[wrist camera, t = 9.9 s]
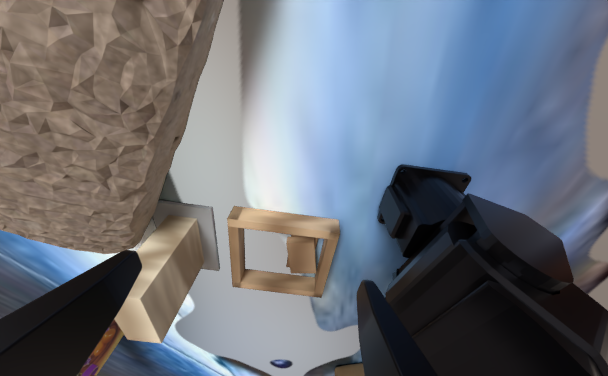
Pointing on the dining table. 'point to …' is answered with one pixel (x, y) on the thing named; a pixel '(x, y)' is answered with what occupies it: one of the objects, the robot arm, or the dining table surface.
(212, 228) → the felt pad
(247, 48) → the dining table surface
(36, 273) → the dining table surface
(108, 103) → the grey brown rock
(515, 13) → the dining table surface
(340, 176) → the dining table surface
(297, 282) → the square wooden frame
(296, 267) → the offcut upper
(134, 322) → the birch panel
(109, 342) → the candy box
